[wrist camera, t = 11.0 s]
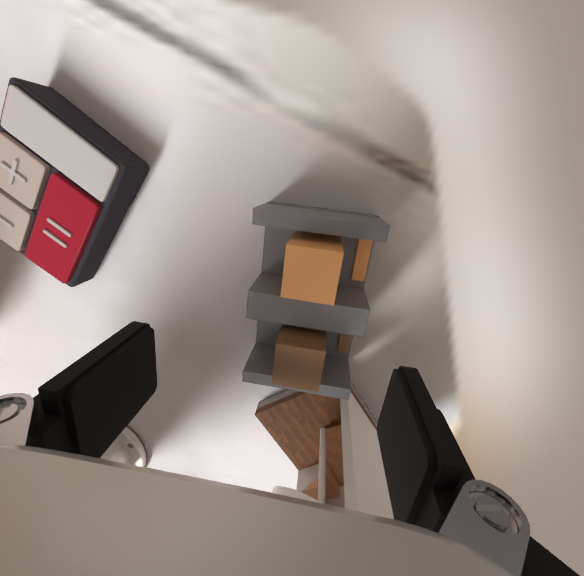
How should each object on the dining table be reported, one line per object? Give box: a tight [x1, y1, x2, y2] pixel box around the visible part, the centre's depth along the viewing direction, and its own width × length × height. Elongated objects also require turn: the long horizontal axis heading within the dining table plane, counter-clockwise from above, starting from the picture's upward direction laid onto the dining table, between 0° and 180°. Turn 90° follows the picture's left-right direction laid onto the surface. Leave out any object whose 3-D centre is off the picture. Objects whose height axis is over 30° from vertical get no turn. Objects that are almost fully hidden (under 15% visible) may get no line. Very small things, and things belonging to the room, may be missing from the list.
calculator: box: [0, 78, 149, 287], centre depth 28 cm, size 11×4×15 cm
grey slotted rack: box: [242, 202, 390, 400], centre depth 27 cm, size 16×10×6 cm, turn 173°
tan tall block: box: [280, 230, 344, 306], centre depth 24 cm, size 4×4×7 cm
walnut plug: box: [272, 324, 326, 392], centre depth 27 cm, size 4×4×7 cm
